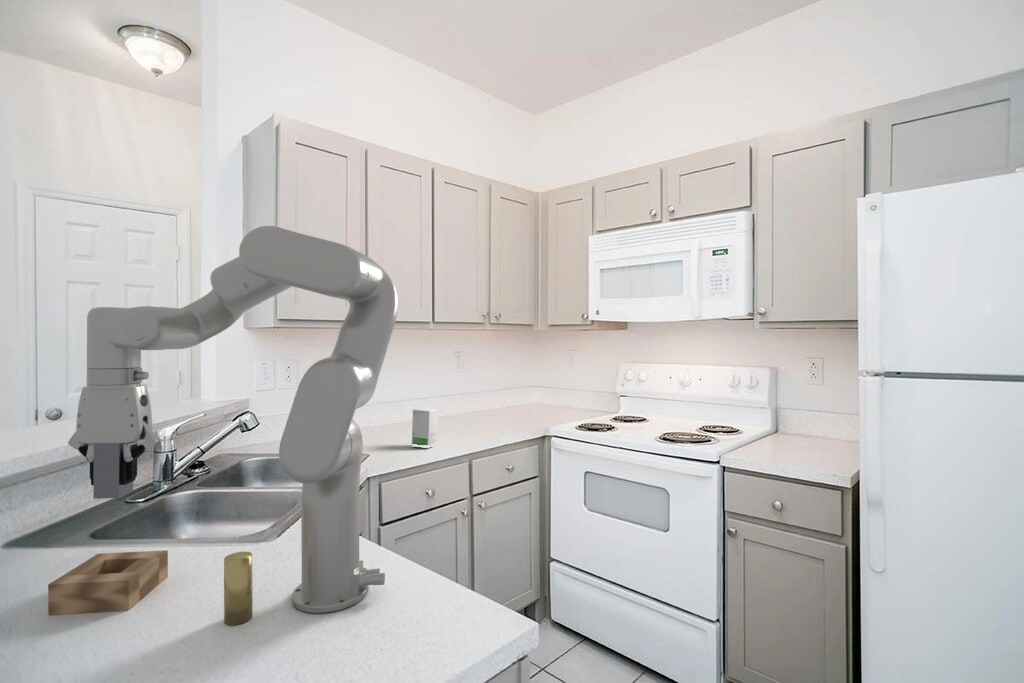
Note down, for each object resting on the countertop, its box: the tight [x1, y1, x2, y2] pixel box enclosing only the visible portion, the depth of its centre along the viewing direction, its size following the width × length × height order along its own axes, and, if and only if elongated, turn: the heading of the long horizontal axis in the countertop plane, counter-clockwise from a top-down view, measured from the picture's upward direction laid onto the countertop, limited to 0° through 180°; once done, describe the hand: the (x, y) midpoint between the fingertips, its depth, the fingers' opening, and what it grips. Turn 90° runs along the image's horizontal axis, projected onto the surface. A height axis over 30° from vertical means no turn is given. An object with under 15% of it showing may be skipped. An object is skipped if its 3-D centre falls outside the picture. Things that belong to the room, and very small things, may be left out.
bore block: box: [47, 550, 169, 616], centre depth 90 cm, size 12×12×5 cm
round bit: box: [223, 551, 254, 627], centre depth 82 cm, size 4×4×10 cm
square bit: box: [92, 443, 134, 500], centre depth 90 cm, size 4×4×10 cm
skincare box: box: [411, 407, 438, 445], centre depth 211 cm, size 8×7×16 cm
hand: (113, 481), depth 90 cm, fingers closed on square bit, 4 cm apart
